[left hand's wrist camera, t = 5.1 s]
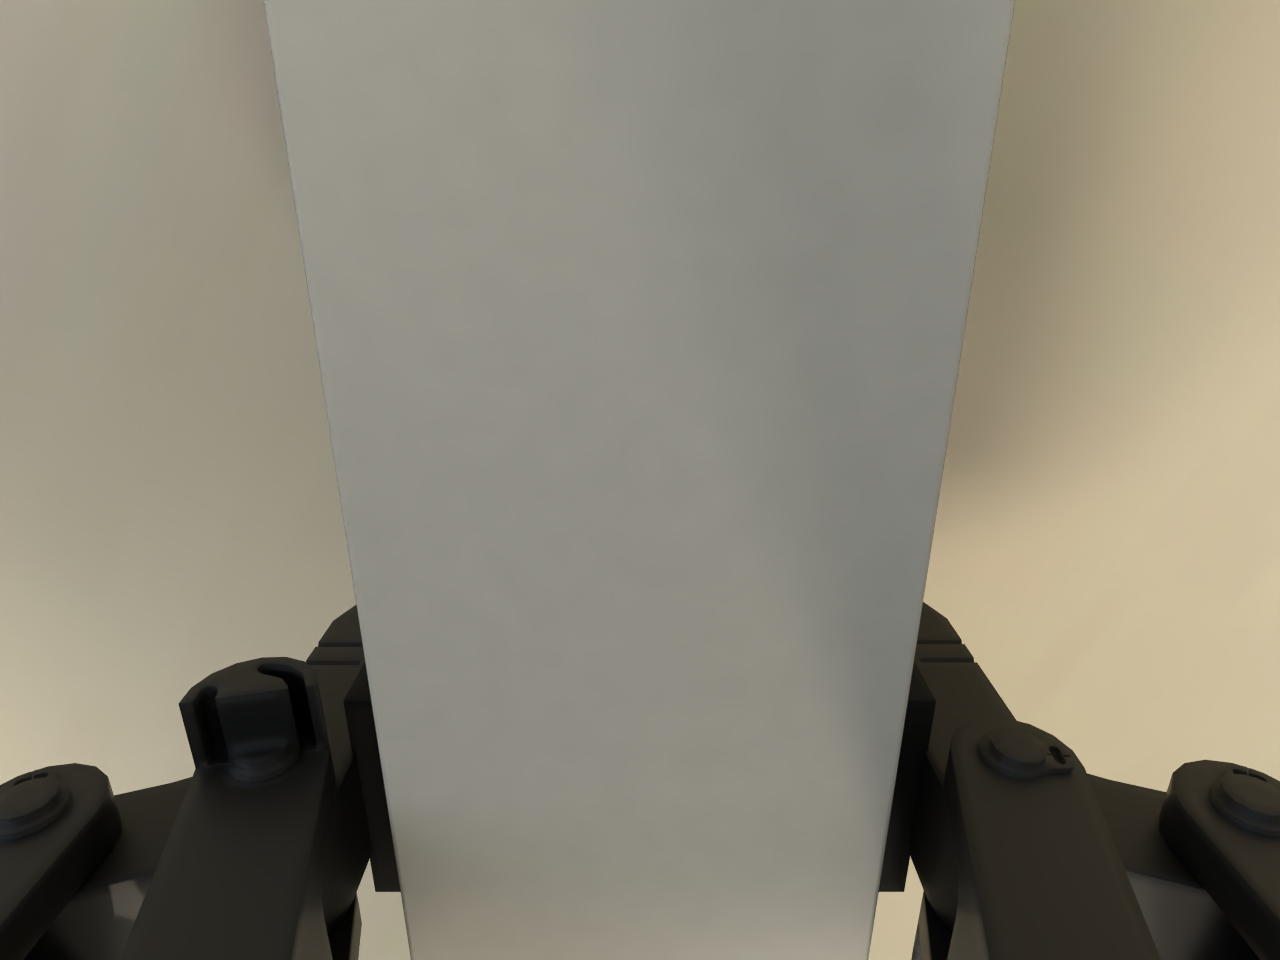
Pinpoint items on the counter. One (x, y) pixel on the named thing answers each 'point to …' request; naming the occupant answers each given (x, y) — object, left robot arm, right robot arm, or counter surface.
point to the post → (639, 440)
